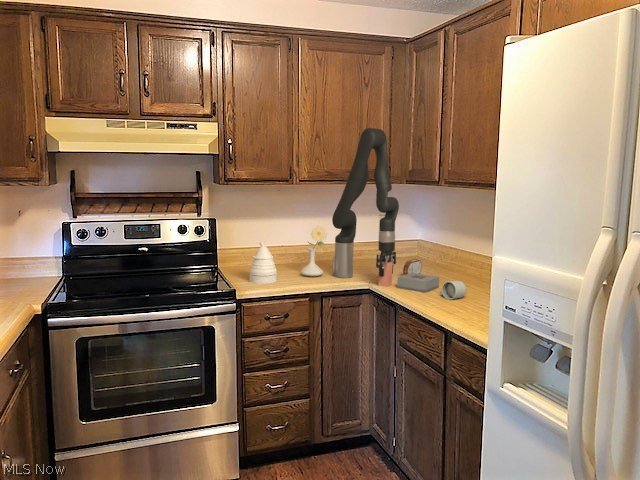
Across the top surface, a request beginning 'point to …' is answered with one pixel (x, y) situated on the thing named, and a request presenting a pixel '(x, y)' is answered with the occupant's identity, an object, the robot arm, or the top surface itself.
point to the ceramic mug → (453, 289)
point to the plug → (386, 276)
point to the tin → (412, 266)
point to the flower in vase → (312, 268)
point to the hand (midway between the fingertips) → (385, 275)
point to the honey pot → (263, 267)
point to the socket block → (418, 282)
